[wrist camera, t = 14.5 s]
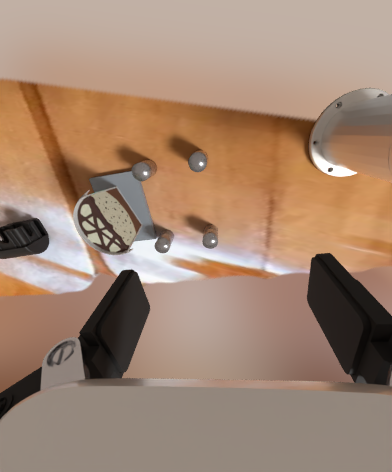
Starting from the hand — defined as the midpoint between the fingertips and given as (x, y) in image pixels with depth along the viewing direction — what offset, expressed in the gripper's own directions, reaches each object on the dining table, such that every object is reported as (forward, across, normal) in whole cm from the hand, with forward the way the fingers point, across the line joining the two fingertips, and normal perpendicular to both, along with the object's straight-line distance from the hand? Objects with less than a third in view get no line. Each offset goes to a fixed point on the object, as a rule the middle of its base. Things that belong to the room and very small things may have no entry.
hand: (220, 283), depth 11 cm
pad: (+30, +20, +4) cm, 37 cm away
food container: (+30, +22, +4) cm, 37 cm away
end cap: (+31, +47, +7) cm, 57 cm away
